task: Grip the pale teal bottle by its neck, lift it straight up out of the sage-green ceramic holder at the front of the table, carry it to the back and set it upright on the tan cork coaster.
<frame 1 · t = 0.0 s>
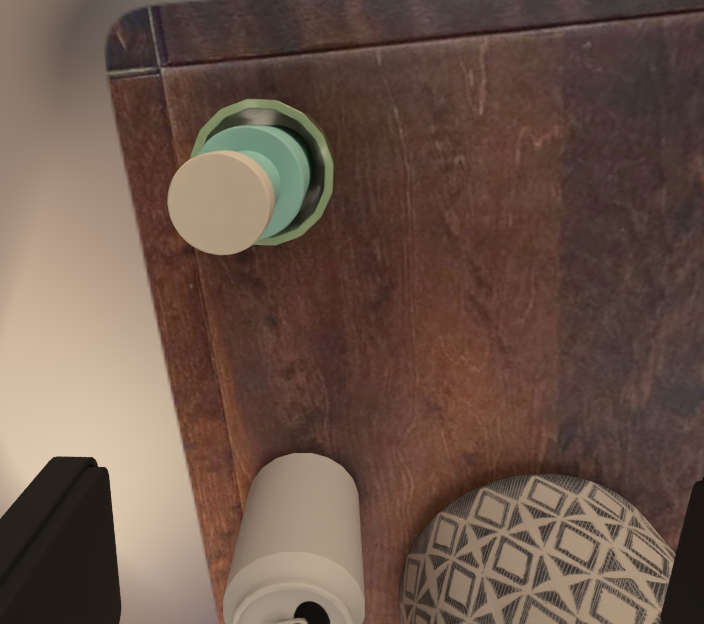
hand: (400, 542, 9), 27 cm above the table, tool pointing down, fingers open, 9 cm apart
planter: (521, 566, 43), on the table
can: (304, 491, 41), on the table
bottle: (275, 165, 34), point 1 cm above the table, touching holder
holder: (276, 164, 34), on the table
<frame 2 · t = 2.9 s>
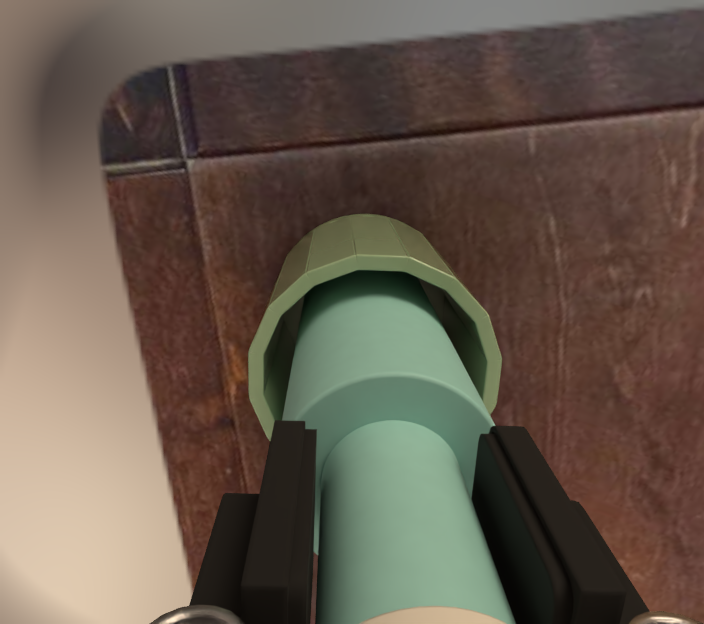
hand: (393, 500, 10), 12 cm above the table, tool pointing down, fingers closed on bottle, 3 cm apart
bottle: (364, 306, 22), point 1 cm above the table, touching gripper, holder
holder: (363, 302, 22), on the table
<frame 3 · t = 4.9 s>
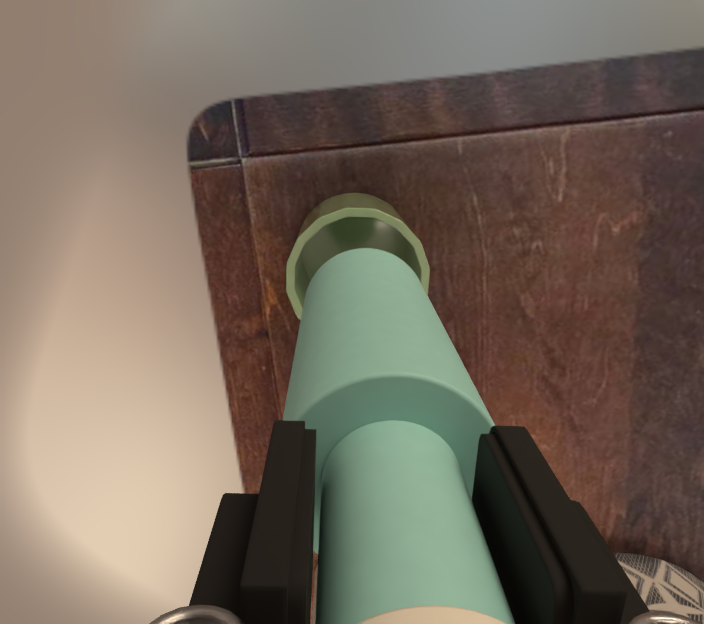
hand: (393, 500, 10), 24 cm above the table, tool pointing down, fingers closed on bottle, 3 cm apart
bottle: (364, 306, 22), point 13 cm above the table, touching gripper
holder: (353, 250, 34), on the table
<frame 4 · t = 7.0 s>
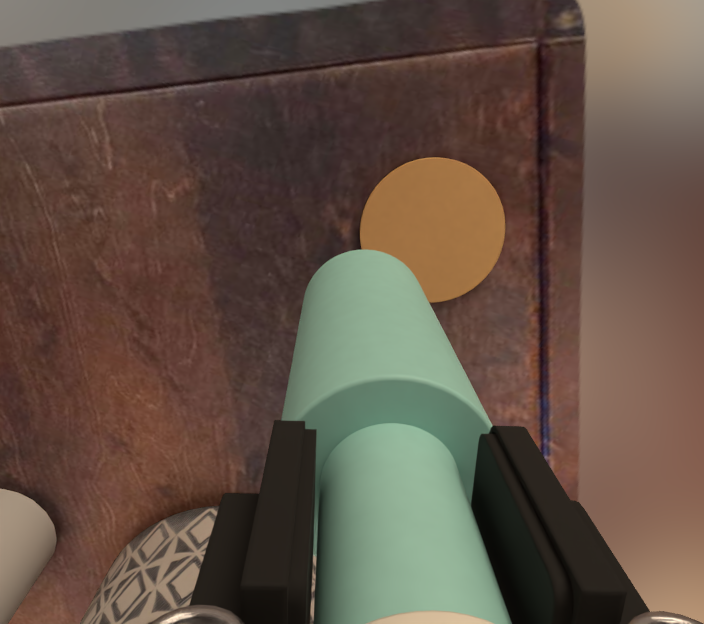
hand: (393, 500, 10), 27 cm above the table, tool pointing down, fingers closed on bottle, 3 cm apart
planter: (235, 591, 45), on the table
can: (10, 523, 43), on the table
coaster: (431, 231, 37), on the table
bottle: (363, 308, 22), point 16 cm above the table, touching gripper
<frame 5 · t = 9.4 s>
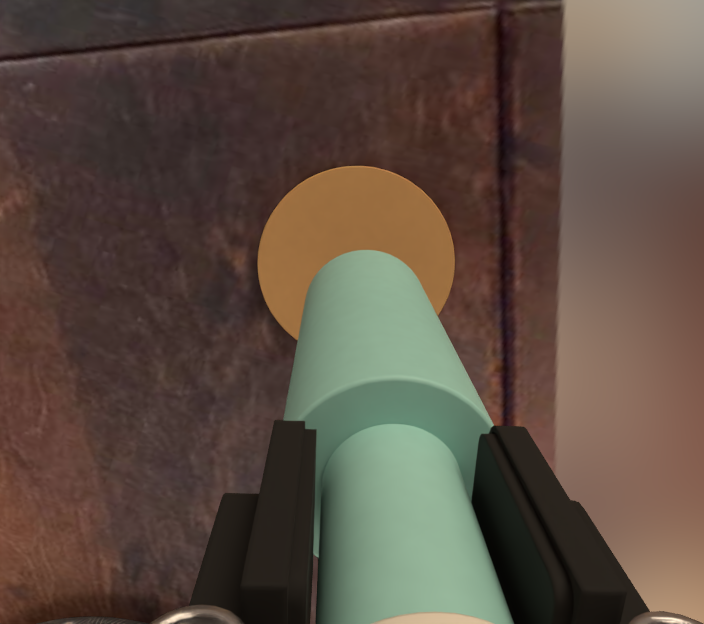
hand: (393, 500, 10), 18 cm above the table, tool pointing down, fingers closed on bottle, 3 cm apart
coaster: (356, 265, 27), on the table
bottle: (365, 308, 22), point 6 cm above the table, touching gripper
when the fingers open (12 cm above the table, at t = 11.0 s): bottle stays where it is, resting on coaster.
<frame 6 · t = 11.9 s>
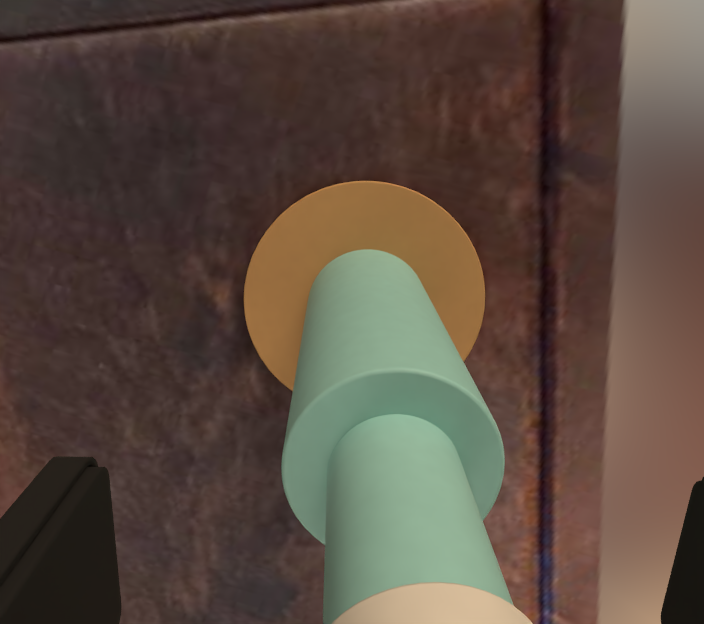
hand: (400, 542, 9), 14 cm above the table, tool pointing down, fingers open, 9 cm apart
coaster: (364, 301, 22), on the table
bottle: (366, 306, 22), resting on coaster
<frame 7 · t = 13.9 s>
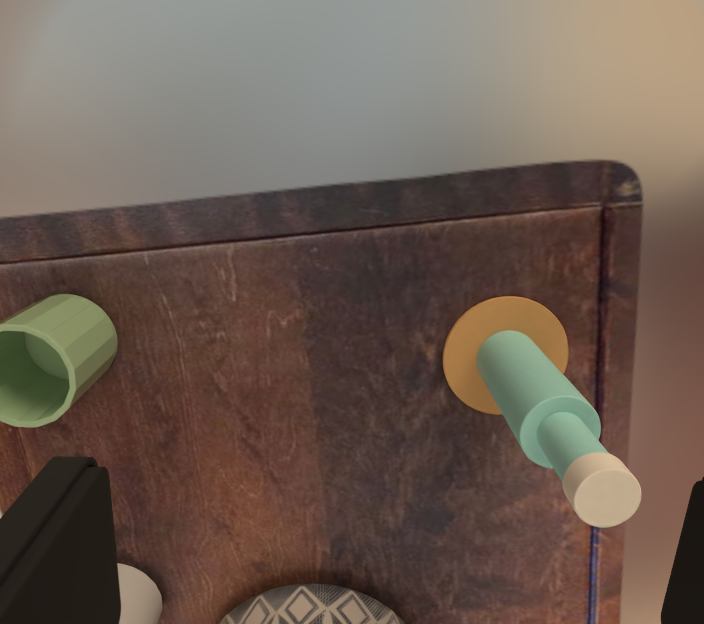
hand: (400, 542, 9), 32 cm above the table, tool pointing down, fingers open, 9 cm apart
can: (120, 591, 49), on the table
coaster: (504, 355, 43), on the table
bottle: (506, 359, 42), resting on coaster
holder: (71, 338, 42), on the table
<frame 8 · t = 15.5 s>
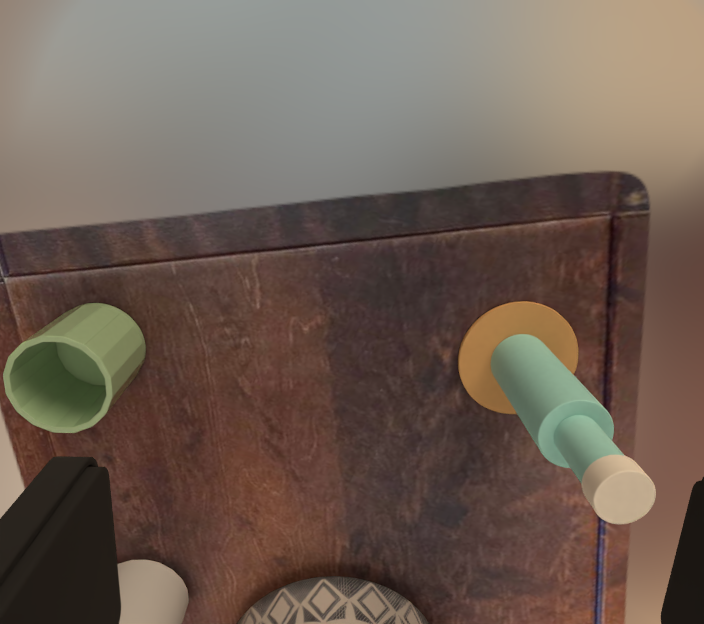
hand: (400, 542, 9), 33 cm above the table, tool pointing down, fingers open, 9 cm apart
can: (147, 586, 50), on the table
coaster: (517, 358, 45), on the table
bottle: (519, 361, 44), resting on coaster
holder: (100, 345, 44), on the table
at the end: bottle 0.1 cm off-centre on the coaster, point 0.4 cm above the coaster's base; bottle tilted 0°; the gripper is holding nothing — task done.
